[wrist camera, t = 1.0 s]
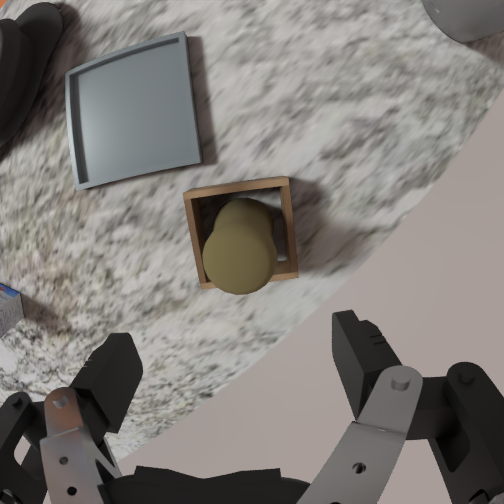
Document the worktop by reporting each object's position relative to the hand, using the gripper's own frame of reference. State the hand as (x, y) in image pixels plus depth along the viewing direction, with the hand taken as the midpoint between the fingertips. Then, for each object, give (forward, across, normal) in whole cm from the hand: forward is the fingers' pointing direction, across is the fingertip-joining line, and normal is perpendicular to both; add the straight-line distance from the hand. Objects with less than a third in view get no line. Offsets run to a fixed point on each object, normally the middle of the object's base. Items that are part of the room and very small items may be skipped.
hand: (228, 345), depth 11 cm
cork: (+20, 0, 0) cm, 20 cm away
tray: (+20, +10, -14) cm, 26 cm away
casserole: (+20, +29, -25) cm, 43 cm away
